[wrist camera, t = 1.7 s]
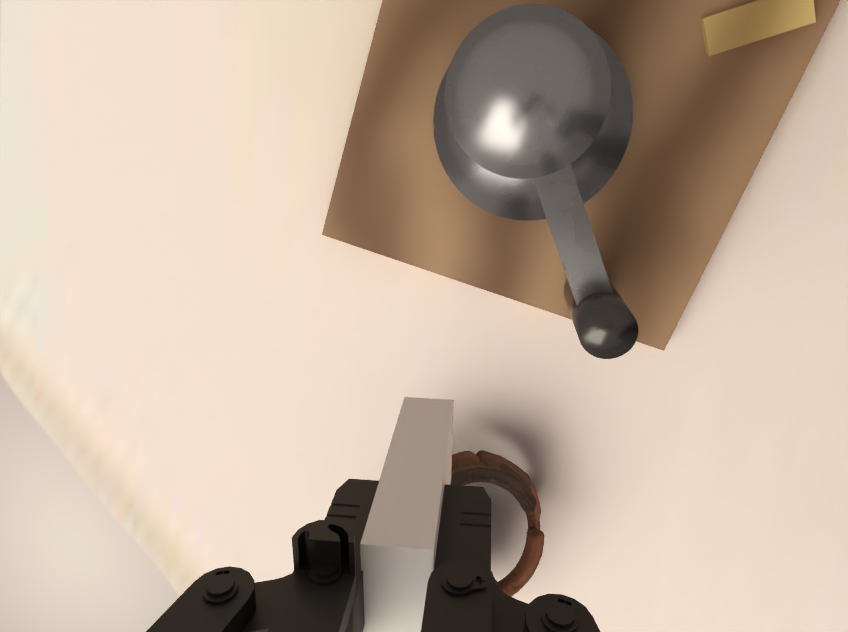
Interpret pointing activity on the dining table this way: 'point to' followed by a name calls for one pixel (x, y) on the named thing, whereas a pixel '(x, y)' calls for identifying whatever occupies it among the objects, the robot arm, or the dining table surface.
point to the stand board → (633, 179)
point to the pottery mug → (520, 486)
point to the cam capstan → (542, 144)
